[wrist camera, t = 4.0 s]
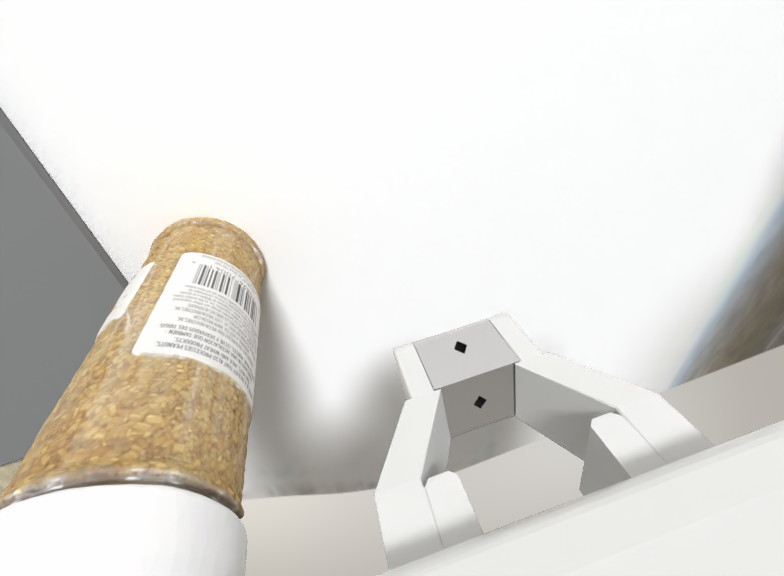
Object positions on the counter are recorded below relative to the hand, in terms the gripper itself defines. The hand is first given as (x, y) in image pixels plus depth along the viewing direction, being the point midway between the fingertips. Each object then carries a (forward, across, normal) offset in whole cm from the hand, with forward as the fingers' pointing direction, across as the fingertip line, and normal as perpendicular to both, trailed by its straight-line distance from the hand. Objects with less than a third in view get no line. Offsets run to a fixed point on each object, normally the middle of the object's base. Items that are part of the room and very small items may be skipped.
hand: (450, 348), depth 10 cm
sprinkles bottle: (+9, +8, 0) cm, 12 cm away
